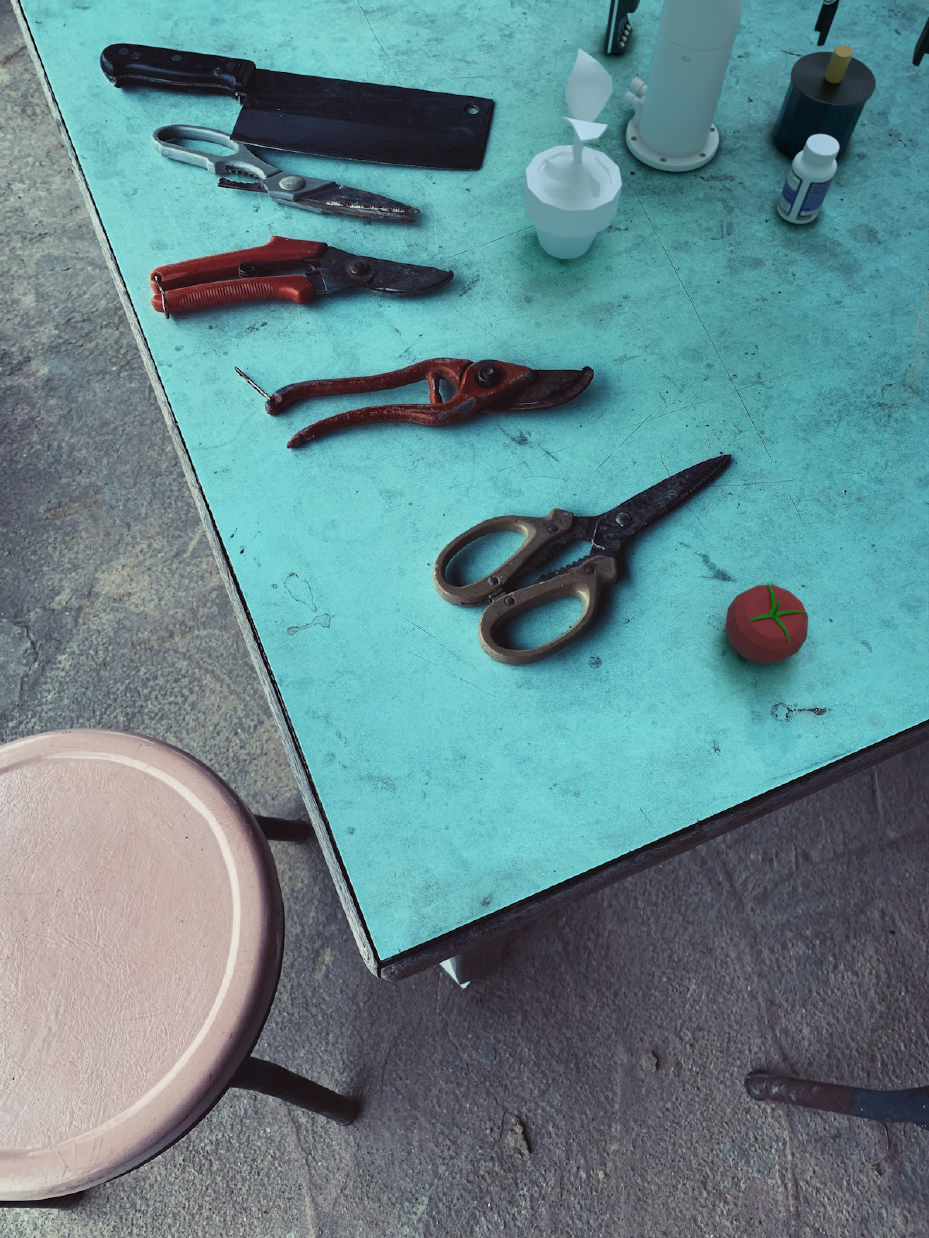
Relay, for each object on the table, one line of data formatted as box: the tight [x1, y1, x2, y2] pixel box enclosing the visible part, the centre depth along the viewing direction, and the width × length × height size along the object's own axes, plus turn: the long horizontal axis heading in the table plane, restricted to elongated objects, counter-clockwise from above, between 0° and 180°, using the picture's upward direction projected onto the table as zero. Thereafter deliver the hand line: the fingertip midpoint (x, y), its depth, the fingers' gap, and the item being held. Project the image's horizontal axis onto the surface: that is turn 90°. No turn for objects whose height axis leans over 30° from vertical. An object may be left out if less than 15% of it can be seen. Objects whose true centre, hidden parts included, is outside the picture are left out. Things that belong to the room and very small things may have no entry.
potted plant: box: [523, 43, 623, 260], centre depth 107 cm, size 13×12×25 cm
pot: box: [772, 80, 867, 161], centre depth 124 cm, size 10×10×8 cm
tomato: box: [724, 582, 809, 665], centre depth 91 cm, size 8×8×8 cm
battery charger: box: [603, 0, 641, 55], centre depth 131 cm, size 7×4×11 cm, turn 163°
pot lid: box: [789, 44, 877, 108], centre depth 118 cm, size 11×11×5 cm
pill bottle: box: [776, 134, 839, 225], centre depth 117 cm, size 5×5×10 cm
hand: (868, 48), depth 95 cm, fingers open, 9 cm apart
